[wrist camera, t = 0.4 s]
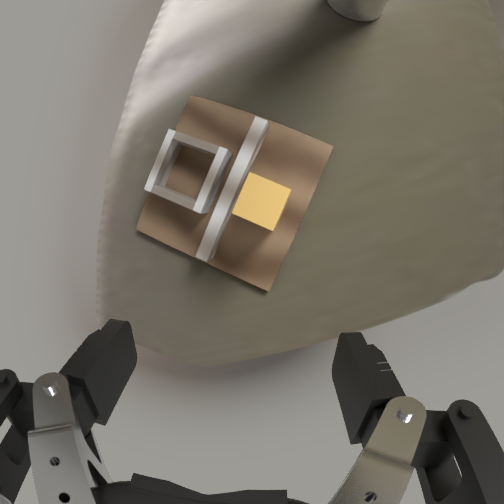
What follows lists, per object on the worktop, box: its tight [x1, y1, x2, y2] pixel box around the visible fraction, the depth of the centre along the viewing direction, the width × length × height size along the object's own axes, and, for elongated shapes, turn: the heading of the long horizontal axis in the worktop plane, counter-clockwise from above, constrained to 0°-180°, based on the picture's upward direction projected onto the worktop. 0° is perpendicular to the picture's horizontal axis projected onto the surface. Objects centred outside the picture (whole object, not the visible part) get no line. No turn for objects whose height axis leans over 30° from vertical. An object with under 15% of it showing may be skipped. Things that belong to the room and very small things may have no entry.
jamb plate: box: [136, 95, 333, 291], centre depth 34 cm, size 20×20×4 cm
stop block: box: [232, 172, 291, 231], centre depth 30 cm, size 4×4×10 cm
